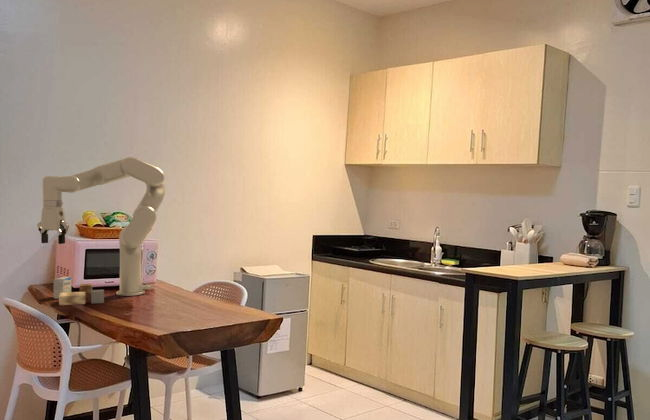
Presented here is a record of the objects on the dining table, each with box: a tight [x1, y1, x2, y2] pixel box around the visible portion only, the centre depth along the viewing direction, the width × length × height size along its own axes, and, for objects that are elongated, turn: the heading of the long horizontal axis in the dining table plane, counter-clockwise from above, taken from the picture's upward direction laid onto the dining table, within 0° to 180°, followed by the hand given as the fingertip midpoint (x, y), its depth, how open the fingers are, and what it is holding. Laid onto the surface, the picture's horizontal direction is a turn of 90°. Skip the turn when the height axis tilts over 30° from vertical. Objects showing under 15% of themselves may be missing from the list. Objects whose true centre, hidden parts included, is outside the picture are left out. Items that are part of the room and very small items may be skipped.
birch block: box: [58, 291, 86, 306], centre depth 248 cm, size 10×10×4 cm
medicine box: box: [53, 276, 72, 300], centre depth 260 cm, size 8×4×9 cm, turn 179°
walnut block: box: [79, 283, 93, 300], centre depth 259 cm, size 5×5×6 cm
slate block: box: [90, 289, 105, 304], centre depth 249 cm, size 5×5×5 cm
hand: (53, 243), depth 256 cm, fingers open, 9 cm apart
